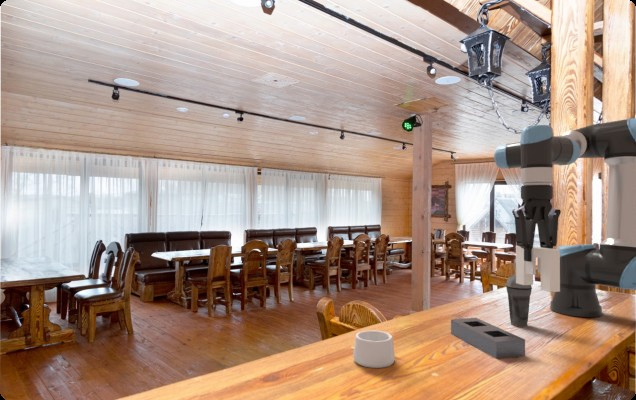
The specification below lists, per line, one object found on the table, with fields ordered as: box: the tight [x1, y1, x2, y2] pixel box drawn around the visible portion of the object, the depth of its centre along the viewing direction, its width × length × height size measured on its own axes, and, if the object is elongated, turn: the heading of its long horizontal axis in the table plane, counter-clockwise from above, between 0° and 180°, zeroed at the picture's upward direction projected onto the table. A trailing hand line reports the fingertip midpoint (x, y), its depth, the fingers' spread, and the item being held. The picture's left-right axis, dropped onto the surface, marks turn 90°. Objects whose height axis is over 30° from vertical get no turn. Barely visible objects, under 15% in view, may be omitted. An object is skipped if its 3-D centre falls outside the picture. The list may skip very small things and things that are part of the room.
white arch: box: [515, 245, 560, 293], centre depth 109 cm, size 12×3×10 cm, turn 14°
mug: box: [352, 329, 395, 369], centre depth 99 cm, size 12×10×6 cm
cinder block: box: [450, 317, 526, 360], centre depth 110 cm, size 8×20×4 cm, turn 13°
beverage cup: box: [505, 258, 533, 328], centre depth 127 cm, size 7×7×20 cm
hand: (536, 273), depth 109 cm, fingers closed on white arch, 3 cm apart
